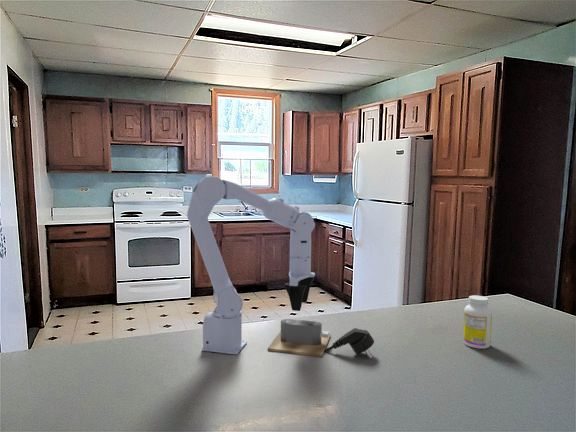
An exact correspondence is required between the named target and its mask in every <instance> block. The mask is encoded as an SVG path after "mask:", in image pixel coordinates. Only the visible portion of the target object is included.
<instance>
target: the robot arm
mask: <svg viewBox="0 0 576 432" xmlns="http://www.w3.org/2000/svg"><path fill="white" fill-rule="evenodd" d="M222 199H223V200H226V201H227V200H228V201H229V200H238V201H240V202H242V203H244V204H246V205H248V206H252V207H253V208H255V209H258V210H261V211H262V212H263V215H264V218H265V219H266V220H267V219H268V220H269V221H272V222H274V223H276V224H278V225H280V226H282V227H285V228H287V229H289V230H290V231H289V232H290V233H289V237H290V238H289V271H288V277H289V282H285V283H284V289H285V291H286V292H287V295H288V298H289V302H290V307H291V310H292V311H293V312H294V311H297V312H300V311H301V310H302V305H303V303H305V304H306V303H307V302H308V299H309V295H310V289H311V286H312V283H313V281H314V279H315V276H316V272H311V271H312V232H313V231H314V229H315V227H316V222H315V220H314V218H313V216H312V215H311V213H308V212H305V211H302V210H300V207H299V206H293V205H290V204H289V203H286V202H284V201H285V199H284V198H281V197H278V198H276V197H273V198H270V199H267V198H264V197H263V196H261V195H258V194H256V193H255V192H253V191H251V190H249V189H247V188H245V187H243V186H241V185H240V184H237V183H235V182H232V181H229V180H226V179H221V178H219V177H218V176H215V175H212V176H210V175H209V176H205V177H204V176H203V177H202V178H200V179H199V181H198V182H197V183H196V184H195V186H194V188H193V189H192V192H191V197H190V200H189V204H188V209H187V213H186V217H187V220H188V222H189V225H190V228H191V232H192V233H193V236H194V239H195V241H196V244H197V246H198V250H199V252H200V255H201V258H202V261H203V263H204V266H205V268H206V271H207V274H208V276H209V279H210V282H211V285H212V287H213V301H214V303H215V305H216V307H215V308H214V310H213V311H209V312H208V311H207V313H205V316H204V318H203V322H202V347H201V350H202V351H203V352H212V353H213V352H214V353H221V354H228V355H238V353H239V352H240V351H241V350H242V349H243V348H244V347H245V346H246V345H247V343H248V341H247V340H242V335H243V333H242V329H243V327H242V325H243V324H242V321H243V320H242V318H243V317H242V316H243V315H242V313H243V311H242V309H243V305H244V303H243V298H242V297H241V295H239V293H238V292H237V289H236V288H235V286H233V283H232V281H231V279H230V276H229V273H228V270H227V268H226V264H225V263H224V259H223V257H222V254H221V251H220V249H219V245H218V242H217V240H216V238H215V235H214V231H213V230H212V226H211V223H210V221H209V216H210V214H211V212H212V211H213V210H214V207H215V206H216V205H217V204H218V203H219V202H221V200H222Z"/></svg>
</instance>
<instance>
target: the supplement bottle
mask: <svg viewBox="0 0 576 432" xmlns="http://www.w3.org/2000/svg"><path fill="white" fill-rule="evenodd" d="M468 303H469V304H466V306H465V307H464V308H463V309H464V311H463V312H464V313H463V338H462V339H463V344H465V345H466V347H469V348H470V347H471V348H474V349H479V350H482V349H488V348H490V346H491V343H492V342H491V338H492V317H493V316H492V314H493V313H492V309H491V308H490V307H489V306H488V304H489V298H488V297H486V296H483V295H477V294H476V295H469V296H468Z"/></svg>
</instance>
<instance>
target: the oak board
mask: <svg viewBox="0 0 576 432" xmlns="http://www.w3.org/2000/svg"><path fill="white" fill-rule="evenodd" d="M330 338H331V334H330V333H329V336H328V338H325V337H321V344H320V345H306V344H296V343H287V342H283V341H281V330H280V331H279V332H278V333H277V335H276V336H275V338H273V340H272V341H271V343H270V344H269V346H268V347H267V351H270V352H278V353H284V354H285V353H286V354H293V355H294V354H295V355H303V356H304V355H305V356H312V357H321V358H323V357H324V353H325V351H324V350H326V349H327V346H328V343H329V342H330Z"/></svg>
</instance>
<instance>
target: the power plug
mask: <svg viewBox="0 0 576 432" xmlns="http://www.w3.org/2000/svg"><path fill="white" fill-rule="evenodd" d="M374 343H375V340H374V338H373V336H372V335H371V333H370V332H369V331H368V330H366V329H360V328H356V327H354V328H352V329H351V330H350V331H347V332H346V333H344V335H342V336H341V337H339V338H338V339H337V340H335V341H334V342H332V345H331V346H329V347H328V348H326V349H325V350H324V353H328V352H330V351H331V350H333V349H334V350H336V349H338V348H341V347H343V346H346V345H347V344H348V345H349V346H350V347H351V349H352V351H353V352H354V354H355V355H360V354H362V353H365V354H366V356H367V357H368V359H372V358H373V357H372V351H371V349H370V348H371V347H372V346H374Z"/></svg>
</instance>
